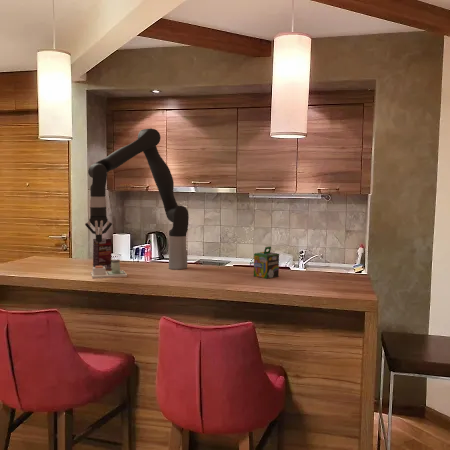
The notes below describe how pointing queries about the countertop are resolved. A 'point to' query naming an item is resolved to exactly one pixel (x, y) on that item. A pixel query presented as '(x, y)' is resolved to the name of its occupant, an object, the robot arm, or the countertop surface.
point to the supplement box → (102, 253)
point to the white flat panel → (110, 275)
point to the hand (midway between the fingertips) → (98, 242)
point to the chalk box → (266, 264)
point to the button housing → (99, 271)
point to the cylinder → (115, 266)
